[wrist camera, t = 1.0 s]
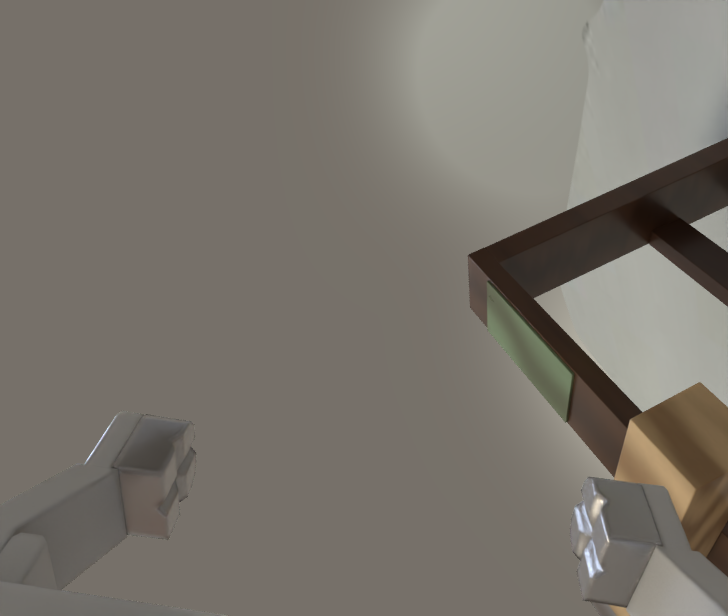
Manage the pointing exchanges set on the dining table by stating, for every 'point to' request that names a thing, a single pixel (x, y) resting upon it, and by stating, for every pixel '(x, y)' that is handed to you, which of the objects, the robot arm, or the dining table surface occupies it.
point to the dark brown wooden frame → (583, 254)
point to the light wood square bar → (681, 464)
